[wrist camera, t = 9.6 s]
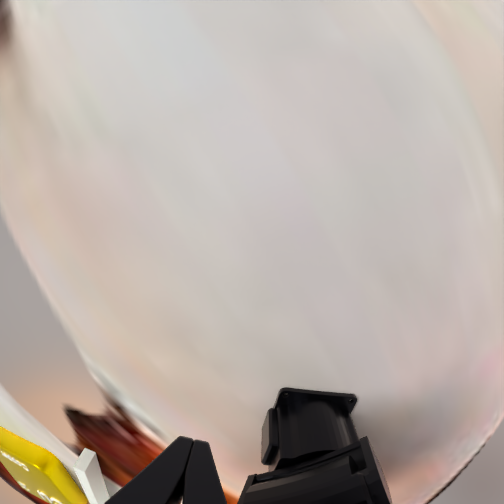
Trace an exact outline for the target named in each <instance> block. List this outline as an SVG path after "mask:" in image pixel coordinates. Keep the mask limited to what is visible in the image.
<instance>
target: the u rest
mask: <svg viewBox="0 0 504 504" xmlns="http://www.w3.org/2000/svg"><path fill="white" fill-rule="evenodd" d="M73 467H74V470H75V472H76V474H77V477H78V479H79V481H80V484H81V486H82V488H83V490H84V492H85V494H86V496H87V498H88V500H89V502H90V504H105V502H106V501H107V500H108V499H110V497H109V494H108V491H107V488H106V485H105V482H104V479H103V476H102V473H101V469H100V466H99V463H98V459H97V456H96V452H93V451H91V450H89V449H86V448H84V450H83V452H82V453H81V455H80V456H79V458H78V460H77V461H76V463H75V465H74V466H73Z"/></svg>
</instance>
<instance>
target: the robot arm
mask: <svg viewBox="0 0 504 504" xmlns="http://www.w3.org/2000/svg"><path fill="white" fill-rule="evenodd" d="M284 393H288V394H287V395H284ZM350 399H352V400H351V401H349V400H350ZM356 402H357V398H356V396H355V395H354V394H344V393H332V392H321V391H311V390H302V389H294V388H282V389H280V391H279V393H278V396H277V399H276V402H275V405H274V408H271V409H269V410H268V412H267V415H266V418H265V421H264V424H263V427H262V452H261V462H262V463H263V465H269V472H267V473H263V474H259V475H257V474H254V475H249V476H248V479H247V481H246V484H245V486H244V488H243V491H242V493H241V496H240V498H239V501H238V503H237V504H392V500H391V496H390V492H389V488H388V485H387V482H386V480H385V477H384V474H383V472H382V469H381V466H380V464H379V462H378V459H377V457H376V455H375V453H374V451H373V448H372V446H371V444H370V442H369V440H368V438H367V436H366V437H363V438H361V439H359V438H358V436H357V433H356V430H355V427H354V424H353V421H352V418H351V415H350V414H351V412H352V410H353V408H354V406H355V404H356ZM359 440H360V441H359ZM182 498H183V499H182ZM181 502H182V504H227V502H226V499H225V496H224V492H223V489H222V486H221V483H220V480H219V476H218V473H217V470H216V466H215V463H214V459H213V456H212V452H211V449H210V445H209V443H208V442H206V441H201V440H193V439H192V438H188V437H184V436H179V437H178V438H177V439H176V440H174V441H173V442H172V443H171V444H170V445H169V446H168V447H167V448H166V449H165V450H164V451H163V452H162V453H161V454H160V455H159V456H157V457H156V458H155V459H154V460H153V461H152V462H151V463H150V464H149V465H148V466H147V467H145V468H144V469H143V470H142V471H141V472H140V473H139V474H138V475H136V476H135V477H134V478H133V479H132V480H131V481H130V482H128V483H127V484H126V485H125V486H124V487H123V488H121V489H120V490H119V491H118V492H117V493H116V494H114V495H113V496H112V497H111V498H110V499H108V500H107V501H106V502H105V504H181Z"/></svg>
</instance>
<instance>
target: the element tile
mask: <svg viewBox="0 0 504 504" xmlns="http://www.w3.org/2000/svg"><path fill="white" fill-rule="evenodd" d="M0 461H1V462H2V464H3V465H4V466H5V468H6V469H7V470H8V471H9V473H10V474H11V475H12V476H13V478H14V479H15V480H16V481H17V482H18V484H19V485H20V486H21V487H22V488H23V489H25V490H26V491H28V492H30V493H31V494H33V495H35V496H37V497H39V498H41V499H42V500H44V501H46V502H48V503H50V504H87V503H88V499H87V498H86V496H85V495H84V494H83V492H82V491H81V490H80V489H79V487H78V486H77V485H76V483H75V482H74V480H73V479H72V478H71V476H70V475H69V473H68V472H67V471H66V469H65V468H64V466H63V465H62V463H61V462H60V461H59V459H58V458H57V457H56V456H55V455H54V454H52V453H51V452H49V451H48V450H46V449H44V448H42V447H40V446H38V445H36V444H34V443H32V442H29V441H27V440H25V439H23V438H21V437H19V436H18V435H16V434H14V433H12V432H10V431H8V430H6V429H5V428H3V427H1V426H0Z"/></svg>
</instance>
